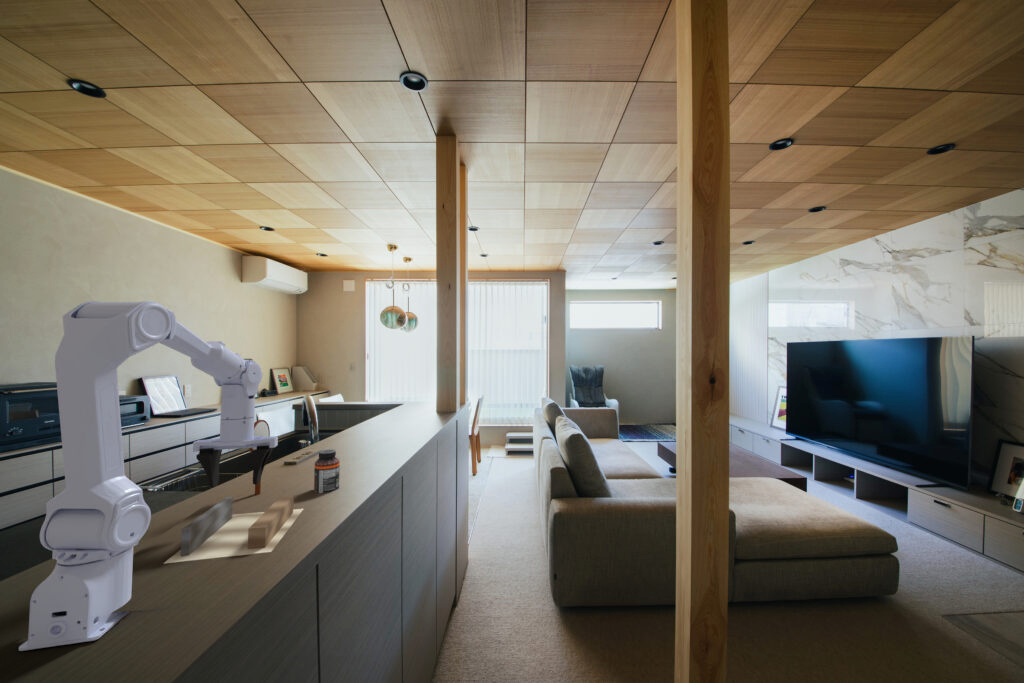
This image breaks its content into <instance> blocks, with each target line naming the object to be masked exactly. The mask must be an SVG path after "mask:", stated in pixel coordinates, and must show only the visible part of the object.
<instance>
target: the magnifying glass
mask: <svg viewBox="0 0 1024 683" xmlns="http://www.w3.org/2000/svg"><path fill="white" fill-rule="evenodd" d="M270 432H271V431H270V426H269V424H268V421H266V420H265V419H258V420H256V421H254V436H260V437H271V435H270V434H271V433H270ZM248 449H249V452H250V454H252V451H253V450H255V449H257V448H248ZM261 486H262V480H261V481H260V482H259V483H258V484H254V496H259V495H261Z"/></svg>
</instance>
